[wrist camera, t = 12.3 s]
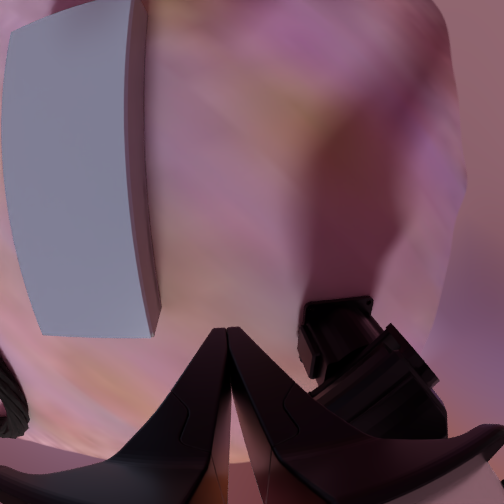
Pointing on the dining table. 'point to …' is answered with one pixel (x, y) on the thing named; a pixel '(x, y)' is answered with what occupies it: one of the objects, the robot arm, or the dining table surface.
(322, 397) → the robot arm
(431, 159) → the dining table surface
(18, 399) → the cable lock
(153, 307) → the grey tray with bar
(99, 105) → the cover
